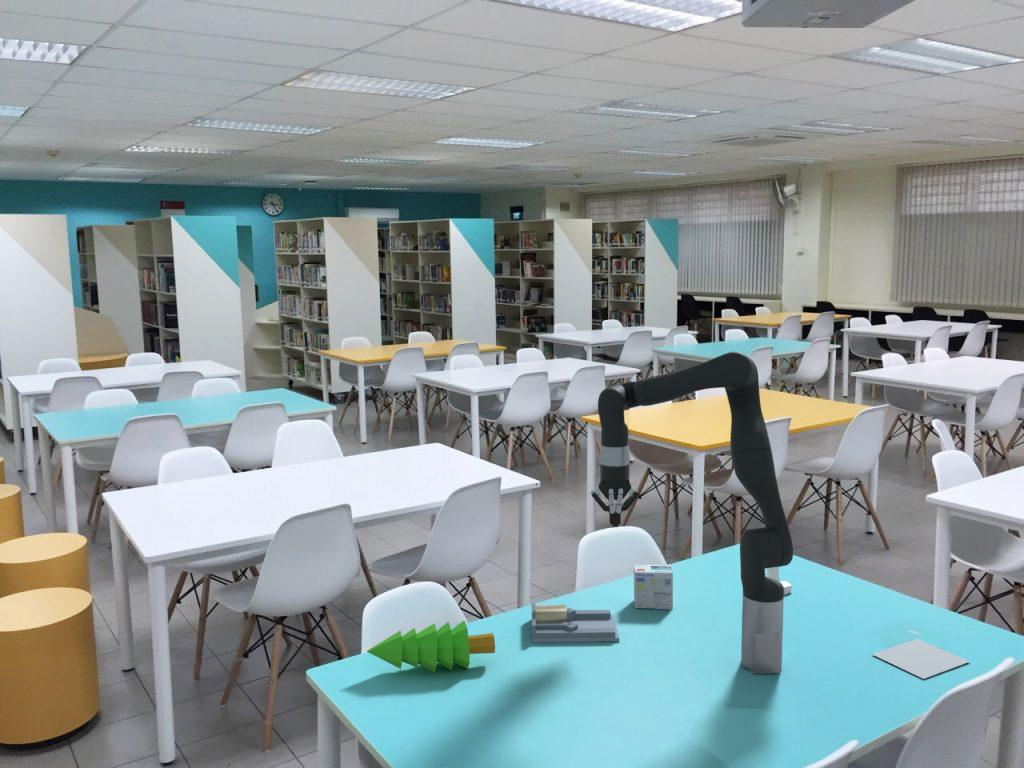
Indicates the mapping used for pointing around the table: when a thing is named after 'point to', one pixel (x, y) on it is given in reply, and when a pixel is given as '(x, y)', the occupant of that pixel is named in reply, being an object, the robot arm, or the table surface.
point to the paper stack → (920, 658)
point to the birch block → (551, 613)
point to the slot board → (576, 627)
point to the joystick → (774, 574)
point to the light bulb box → (653, 586)
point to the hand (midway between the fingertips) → (614, 526)
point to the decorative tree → (434, 647)
